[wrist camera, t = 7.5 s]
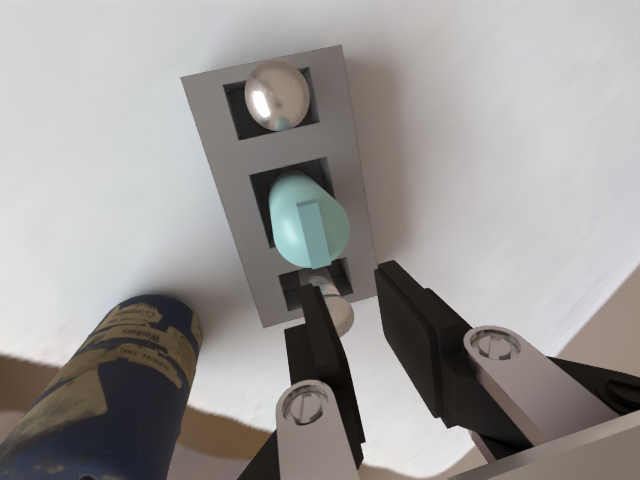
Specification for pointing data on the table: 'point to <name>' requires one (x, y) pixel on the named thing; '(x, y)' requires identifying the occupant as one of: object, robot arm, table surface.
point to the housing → (279, 151)
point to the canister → (112, 400)
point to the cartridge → (306, 220)
